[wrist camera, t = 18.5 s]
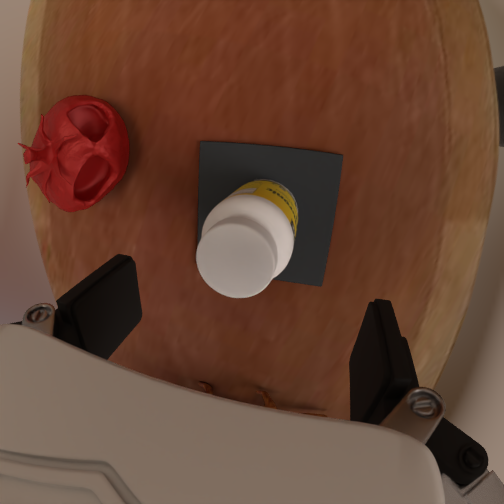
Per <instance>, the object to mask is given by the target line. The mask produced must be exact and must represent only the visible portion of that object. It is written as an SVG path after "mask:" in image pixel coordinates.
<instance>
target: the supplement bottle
mask: <svg viewBox="0 0 504 504" xmlns="http://www.w3.org/2000/svg"><path fill="white" fill-rule="evenodd" d="M297 224H298V207H297V203H296V201H295V198H294V197H293V195H292V194H291V192H290V191H289V190H288V189H287V188H286V187H284V186H283V185H281V184H280V183H278V182H275V181H272V180H266V179H260V180H254V181H251V182H248V183H246V184H245V185H243V186H241V187H240V188H239V189H237V190H236V191H235V192H233V193H232V194H231V195H229V196H228V197H227V198H225V199H224V200H223V201H222V202H220V203H219V204H218V205H217V206H216V207H215V208H214V209H213V210H212V211H211V212H210V213H209V215H208V216H207V218H206V220H205V222H204V225H203V229H202V236H201V240H200V242H199V244H198V247H197V252H196V262H197V267H198V270H199V272H200V274H201V276H202V278H203V279H204V281H205V282H206V283H207V284H208V285H209V286H210V287H211V288H213V289H214V290H215V291H217V292H219V293H220V294H223V295H225V296H228V297H233V298H246V297H250V296H253V295H256V294H258V293H260V292H261V291H262V290H264V289H265V288H266V287H267V286H268V284H269V283H270V281H271V280H272V279H273V278H275V277H276V276H277V275H279V274H280V273H281V272H282V271H283V270H284V268H285V267H286V266H287V264H288V262H289V260H290V258H291V255H292V252H293V248H294V241H295V235H296V230H297Z"/></svg>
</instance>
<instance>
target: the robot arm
mask: <svg viewBox="0 0 504 504" xmlns="http://www.w3.org/2000/svg"><path fill="white" fill-rule="evenodd" d="M56 302H57V305H58V309H56V310H55V308H54V306H53V305H51V304H48V303H41V304H36V305H34V306H32V307H30V308H29V309H28V310H27V311H26V312H25V314H24V316H23V320H22V321H21V322H16V323H11V324H2V325H0V504H504V485H503V483H502V482H501V481H500V479H499V478H498V476H497V475H496V474H495V472H494V471H493V470H492V471H491V472H489V471H488V470H487V466H488V456H487V453H486V451H485V449H484V448H483V447H482V446H481V445H480V444H479V443H477V442H476V441H475V440H473V439H472V438H471V437H469V436H468V435H466V434H465V433H464V432H463V431H461V430H460V429H458V428H457V427H456V426H454V425H453V424H452V423H450V422H449V421H448V420H446V419H445V418H444V417H443V416H444V413H445V403H444V400H443V399H442V397H441V396H440V395H439V394H438V393H437V392H436V391H434V390H432V389H430V388H426V387H419V384H418V379H417V375H416V372H415V368H414V364H413V360H412V356H411V353H410V349H409V346H408V342H407V340H406V338H405V337H401V334H400V330H399V327H398V323H397V320H396V317H395V313H394V310H393V307H392V304H391V301H389V300H383V299H375V300H374V302H369V304H368V307H367V310H366V313H365V316H364V319H363V322H362V325H361V328H360V331H359V334H358V337H357V340H356V343H355V345H354V348H353V351H352V353H351V356H350V362H349V369H350V421H349V420H342V419H336V418H328V417H320V416H313V415H307V414H301V413H295V412H289V411H283V410H278V409H272V408H267V407H262V406H257V405H252V404H248V403H243V402H239V401H235V400H230V399H226V398H222V397H218V396H215V395H211V394H207V393H203V392H200V391H196V390H193V389H189V388H186V387H182V386H179V385H176V384H173V383H169V382H166V381H163V380H160V379H157V378H154V377H151V376H148V375H145V374H143V373H140V372H137V371H134V370H132V369H129V368H126V367H124V366H121V365H118V364H116V363H113V362H111V361H108V360H107V359H108V358H109V357H110V356H111V355H112V353H113V352H114V351H115V350H116V349H117V347H118V346H119V345H120V344H121V343H122V342H123V340H124V339H125V338H126V337H127V336H128V334H129V333H130V332H131V331H132V330H133V329H134V328H135V326H136V325H137V324H138V323H139V322H140V320H141V318H142V309H141V302H140V295H139V288H138V280H137V272H136V264H135V261H134V260H133V259H132V257H131V256H127V255H122V254H118V255H116V256H115V257H113V258H112V259H110V260H109V261H108V262H106V263H105V264H103V265H102V266H101V267H99V268H98V269H97V270H95V271H94V272H93V273H91V274H90V275H89V276H87V277H86V278H85V279H83V280H82V281H81V282H79V283H78V284H77V285H76V286H74V287H73V288H72V289H70V290H69V291H68V292H67V293H65V294H64V295H63V296H62V297H60V298H59V299H58V300H57V301H56Z"/></svg>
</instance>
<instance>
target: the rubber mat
mask: <svg viewBox="0 0 504 504" xmlns="http://www.w3.org/2000/svg"><path fill="white" fill-rule="evenodd" d="M342 161H343V155H339V154H333V153H326V152H320V151H312V150H305V149H297V148H288V147H279V146H269V145H258V144H245V143H230V142H211V141H200V158H199V187H198V244H199V242H200V240H201V236H202V229H203V225H204V222H205V220H206V218H207V216H208V215H209V213H210V212H211V211H212V210H213V209H214V208H215V207H216V206H217V205H218V204H219V203H220V202H222V201H223V200H224V199H225V198H227V197H228V196H229V195H231V194H232V193H233V192H235V191H236V190H237V189H239V188H240V187H241V186H243V185H245V184H246V183H248V182H251V181H254V180H260V179H266V180H272V181H275V182H278V183H280V184H281V185H283V186H284V187H286V188H287V189H288V190H289V191H290V192H291V194H292V195H293V197H294V198H295V201H296V203H297V207H298V224H297V230H296V235H295V241H294V248H293V252H292V255H291V258H290V260H289V262H288V264H287V266H286V267H285V268H284V270H283V271H282V272H281V273H280V274H279V275H277V276H276V277H275V278H273V279H274V280H281V281H287V282H294V283H301V284H308V285H314V286H322V282H323V277H324V272H325V267H326V262H327V257H328V251H329V246H330V240H331V235H332V229H333V223H334V217H335V211H336V204H337V198H338V191H339V184H340V177H341V169H342Z"/></svg>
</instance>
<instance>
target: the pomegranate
mask: <svg viewBox="0 0 504 504" xmlns="http://www.w3.org/2000/svg"><path fill="white" fill-rule="evenodd" d="M18 144H19V145H21V146H22V147H23V148H25V149H26V151H25V152H24V154H23V155H24V161H25V164H28V163H30V172H29V173H28V174H27V176H26V182H27V185H28V183H29V178H30V177H31V178H32V179H33V181H34V182H35V183H36V184H37V185H38V186H39V188H40V189H41V191H42V193H43V194H44V195H45V196H46V198H47V199H48V201H49V203H50V201H51V202H52V203H54V204H56V205H57V206H58V207H59V208H60V209H62V210H64V211H66V212H75V211H78V210H84V209H87V208H89V207H91V206H93V205H94V204H95V203H97V202H99V201H100V200H101V199H102V198H103V197H104V196H105V195H107V194H108V193H109V192H110V191H111V190H112V189H113V188H114V187H115V185H116V184H117V183H118V182H119V181H120V180H121V179H122V178H123V175H124V174H125V172H126V169H127V165H128V161H129V139H128V134H127V129H126V126H125V124H124V121H123V120H122V118H121V117H120V115H119V113H118V112H117V111H116V110H115V109H114V108H113V107H112V106H111V105H110V104H109V103H108V102H106V101H104V100H102V99H98V98H95V97H92V96H88V95H79V96H77V95H76V96H70V97H66V98H64V99H63V100H60V101H59V102H57V103H56V104H55V105H54V106H53V107H52V108H51V109H50V111H49V112H48V113H47V114H46V115H45V117H44V116H43V115H42V114H41V122H40V125H39V128H38V130H37V133H36V135H35V138H34V141H33V144H32V146H31V147H27V146H26V145H23V144H20V143H18ZM27 185H26V187H27Z"/></svg>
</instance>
